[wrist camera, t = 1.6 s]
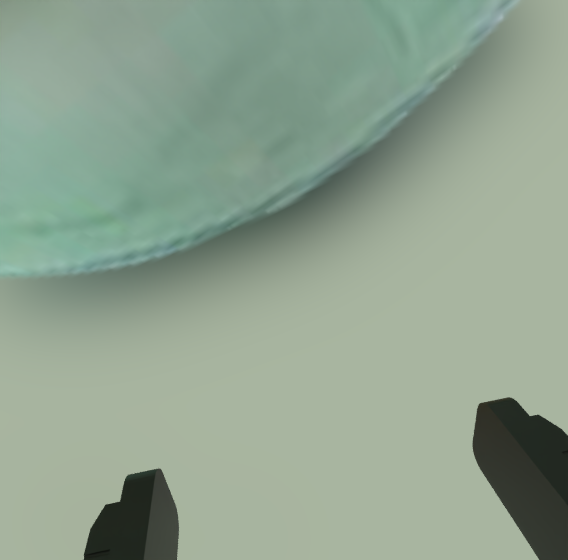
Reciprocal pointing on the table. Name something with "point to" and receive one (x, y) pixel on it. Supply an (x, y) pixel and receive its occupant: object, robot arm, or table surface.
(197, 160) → the table surface
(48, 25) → the table surface
